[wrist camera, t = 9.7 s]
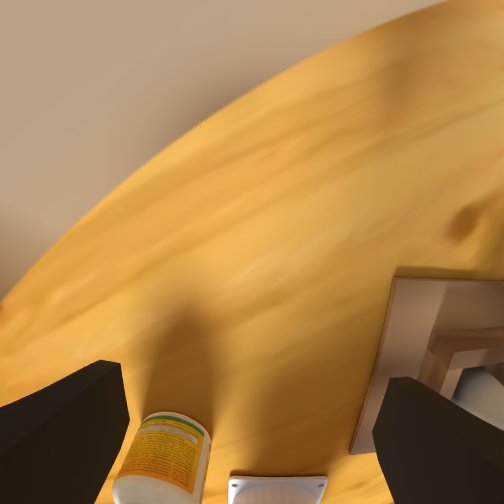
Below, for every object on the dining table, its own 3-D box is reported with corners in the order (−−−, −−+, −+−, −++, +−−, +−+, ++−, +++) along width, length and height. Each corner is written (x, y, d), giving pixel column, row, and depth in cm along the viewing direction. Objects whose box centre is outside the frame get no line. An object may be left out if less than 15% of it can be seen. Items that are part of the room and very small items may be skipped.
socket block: (483, 425, 21) (501, 447, 17) (348, 449, 21) (358, 482, 17) (535, 281, 18) (564, 295, 14) (393, 276, 18) (420, 296, 14)
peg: (467, 387, 19) (531, 464, 10) (434, 394, 19) (496, 482, 10) (479, 351, 18) (556, 424, 9) (447, 357, 18) (523, 441, 9)
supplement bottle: (222, 453, 21) (210, 559, 11) (160, 460, 21) (131, 554, 12) (194, 402, 20) (164, 518, 10) (128, 412, 20) (79, 511, 11)
